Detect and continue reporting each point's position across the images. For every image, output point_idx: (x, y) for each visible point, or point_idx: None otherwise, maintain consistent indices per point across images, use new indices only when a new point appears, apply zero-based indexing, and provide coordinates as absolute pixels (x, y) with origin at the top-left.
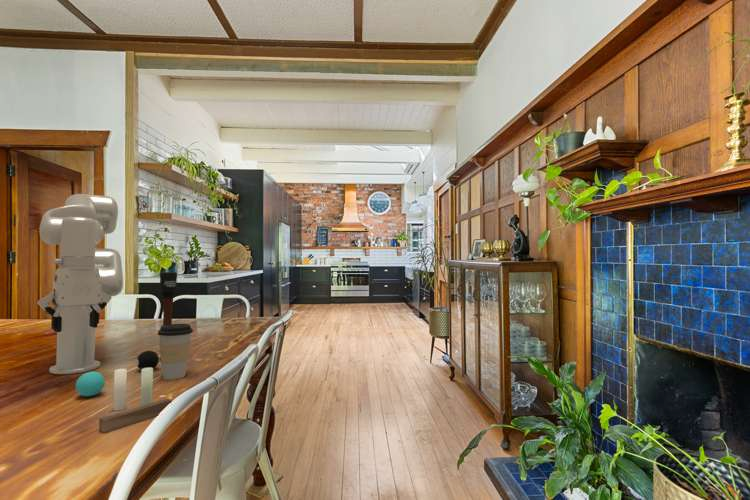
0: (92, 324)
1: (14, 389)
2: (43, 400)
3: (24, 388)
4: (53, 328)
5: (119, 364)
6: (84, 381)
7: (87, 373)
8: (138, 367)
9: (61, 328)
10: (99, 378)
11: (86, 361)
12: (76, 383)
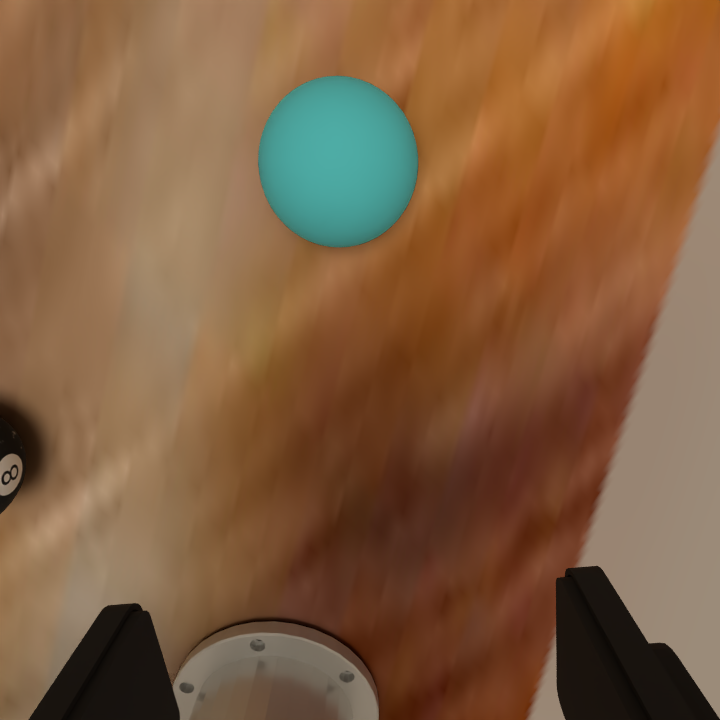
0: (145, 684)
1: (552, 558)
2: (524, 278)
3: (520, 544)
4: (660, 648)
5: None
6: (388, 101)
7: (356, 151)
8: (24, 453)
9: (572, 606)
10: (297, 91)
11: (234, 685)
12: (416, 169)
